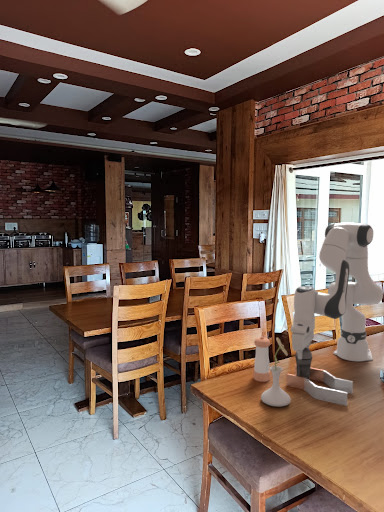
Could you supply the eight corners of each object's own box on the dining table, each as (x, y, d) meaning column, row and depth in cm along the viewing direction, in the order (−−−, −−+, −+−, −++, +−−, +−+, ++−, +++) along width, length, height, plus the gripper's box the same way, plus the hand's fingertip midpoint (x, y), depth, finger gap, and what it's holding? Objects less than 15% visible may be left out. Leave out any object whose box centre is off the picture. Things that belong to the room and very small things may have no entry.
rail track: (295, 375, 175) (295, 364, 174) (354, 387, 161) (355, 376, 161) (281, 390, 159) (282, 379, 158) (346, 406, 145) (347, 393, 145)
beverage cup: (312, 386, 162) (313, 340, 161) (294, 385, 164) (295, 339, 162) (310, 379, 169) (312, 335, 168) (293, 378, 171) (294, 334, 169)
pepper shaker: (263, 383, 166) (263, 340, 164) (250, 378, 171) (250, 336, 170) (273, 378, 171) (273, 336, 169) (260, 373, 176) (260, 333, 175)
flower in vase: (289, 412, 141) (290, 346, 139) (258, 406, 145) (259, 342, 143) (292, 396, 153) (293, 335, 151) (264, 392, 157) (264, 333, 155)
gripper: (303, 317, 175) (303, 346, 176) (289, 329, 157) (289, 361, 159) (317, 319, 171) (317, 349, 173) (304, 331, 154) (304, 364, 156)
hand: (303, 355), depth 166 cm, fingers open, 8 cm apart
